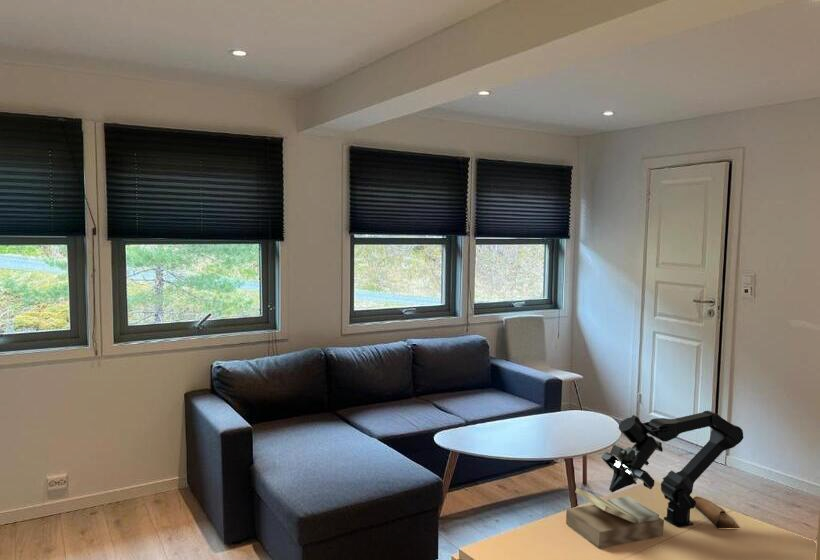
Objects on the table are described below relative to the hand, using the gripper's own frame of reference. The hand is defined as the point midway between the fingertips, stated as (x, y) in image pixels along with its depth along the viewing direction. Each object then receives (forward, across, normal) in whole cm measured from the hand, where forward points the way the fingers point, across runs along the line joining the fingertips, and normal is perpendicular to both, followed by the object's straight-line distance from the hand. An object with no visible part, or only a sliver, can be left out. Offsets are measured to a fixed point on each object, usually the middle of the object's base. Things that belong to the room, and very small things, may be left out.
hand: (610, 491), depth 184 cm
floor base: (+8, 0, +10) cm, 13 cm away
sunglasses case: (-20, +3, +38) cm, 43 cm away
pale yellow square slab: (+5, 0, +2) cm, 5 cm away
